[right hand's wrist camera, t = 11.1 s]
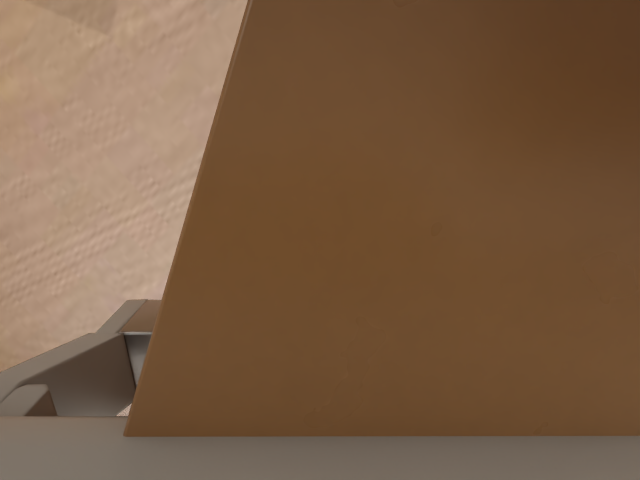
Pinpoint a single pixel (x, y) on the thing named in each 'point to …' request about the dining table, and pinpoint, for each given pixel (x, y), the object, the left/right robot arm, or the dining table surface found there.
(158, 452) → the right robot arm
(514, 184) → the box
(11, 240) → the dining table surface
